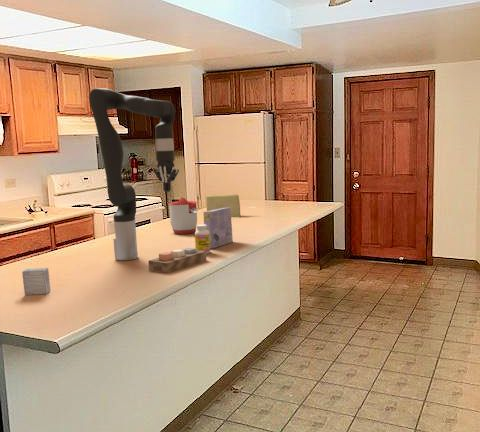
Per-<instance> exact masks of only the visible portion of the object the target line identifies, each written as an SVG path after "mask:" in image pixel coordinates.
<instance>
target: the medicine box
mask: <svg viewBox="0 0 480 432" xmlns="http://www.w3.org/2000/svg"><path fill="white" fill-rule="evenodd" d="M49 273H50V272H49V268H48V267H38V268H36V267H35V268H34V267H33V268H26V269H24V270H23V271H22V272H21V274H22V282H23V283H22V284H23V291H24V292H23V293H24V296H30V295H31V296H33V295H34V294H35V295H48V294H49V293H50V291H51V282H50V274H49ZM32 294H33V295H32ZM35 295H34V296H35Z"/></svg>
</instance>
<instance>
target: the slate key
mask: <svg viewBox="0 0 480 432" xmlns="http://www.w3.org/2000/svg"><path fill="white" fill-rule="evenodd" d="M182 250H184V251H185V254H192V253H195V252H196V247H195V248H194V247H187V248H183V249H182Z"/></svg>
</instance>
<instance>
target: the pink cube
mask: <svg viewBox="0 0 480 432" xmlns="http://www.w3.org/2000/svg"><path fill="white" fill-rule="evenodd" d="M158 258H159V260H161V261H169V260H172V259H173V253H171V252H168V251H164V252H161V253H158Z"/></svg>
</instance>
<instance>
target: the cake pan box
mask: <svg viewBox="0 0 480 432" xmlns="http://www.w3.org/2000/svg"><path fill="white" fill-rule="evenodd" d="M202 215H203V224H205V225H207V230H208V231H209V234H210V249H216V248H218V247H223V246H225V245H228V244H230V243H234V242H233V241H234V239H233V227H232V225H233V224H232V218H231V208H230V207H229V208H221V209H216V210H211V211H207V210H206V211H203V214H202Z"/></svg>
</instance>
